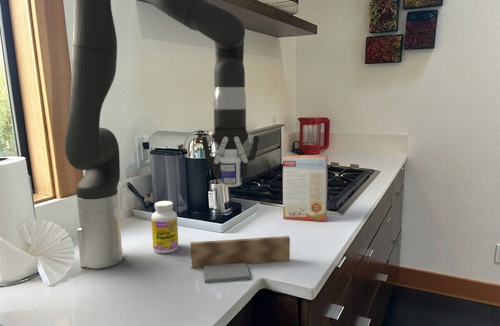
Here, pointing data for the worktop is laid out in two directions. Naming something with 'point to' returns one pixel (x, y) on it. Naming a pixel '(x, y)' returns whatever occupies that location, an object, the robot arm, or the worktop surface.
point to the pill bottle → (230, 168)
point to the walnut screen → (240, 251)
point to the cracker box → (305, 187)
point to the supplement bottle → (164, 228)
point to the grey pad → (226, 272)
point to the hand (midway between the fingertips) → (230, 177)
